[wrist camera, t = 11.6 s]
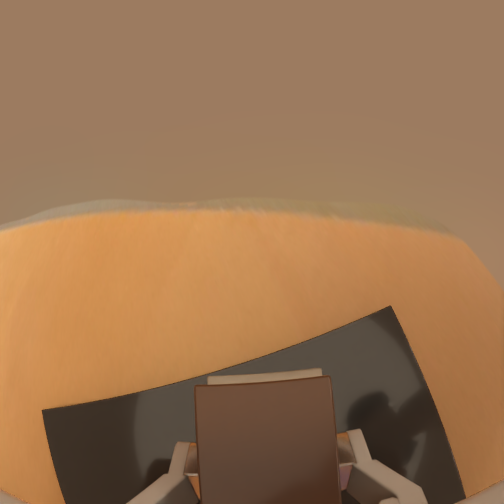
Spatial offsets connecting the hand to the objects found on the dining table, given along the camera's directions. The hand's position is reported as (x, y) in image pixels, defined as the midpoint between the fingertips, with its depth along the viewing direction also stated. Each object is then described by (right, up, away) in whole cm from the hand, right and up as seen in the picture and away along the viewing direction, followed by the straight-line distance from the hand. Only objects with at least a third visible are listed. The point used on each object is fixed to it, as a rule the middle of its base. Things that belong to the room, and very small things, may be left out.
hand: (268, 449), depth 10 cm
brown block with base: (0, -3, +3) cm, 4 cm away
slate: (-1, -6, +2) cm, 6 cm away
